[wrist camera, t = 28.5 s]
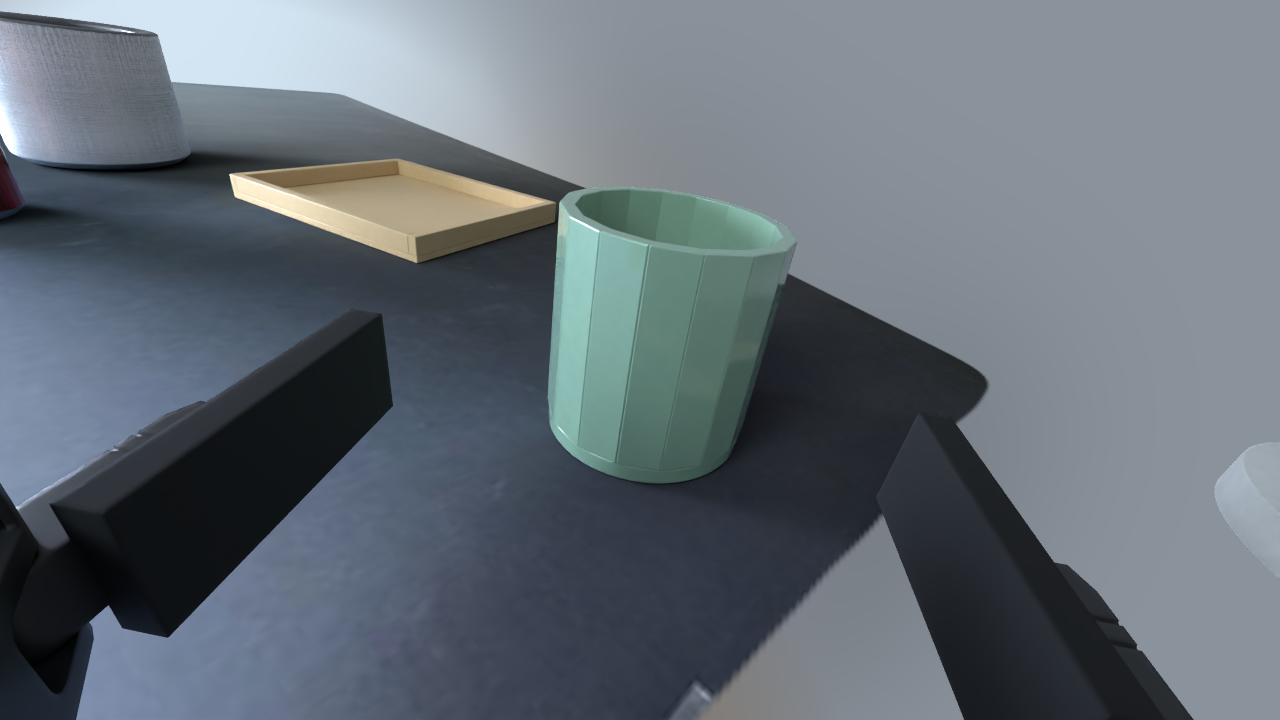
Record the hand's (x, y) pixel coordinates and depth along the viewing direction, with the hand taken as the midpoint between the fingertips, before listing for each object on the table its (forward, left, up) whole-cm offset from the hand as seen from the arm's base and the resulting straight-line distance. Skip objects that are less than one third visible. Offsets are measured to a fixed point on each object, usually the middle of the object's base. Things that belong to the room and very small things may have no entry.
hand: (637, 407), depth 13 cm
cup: (+3, -9, -7) cm, 13 cm away
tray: (+36, -25, -7) cm, 45 cm away
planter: (+64, -15, -8) cm, 67 cm away
